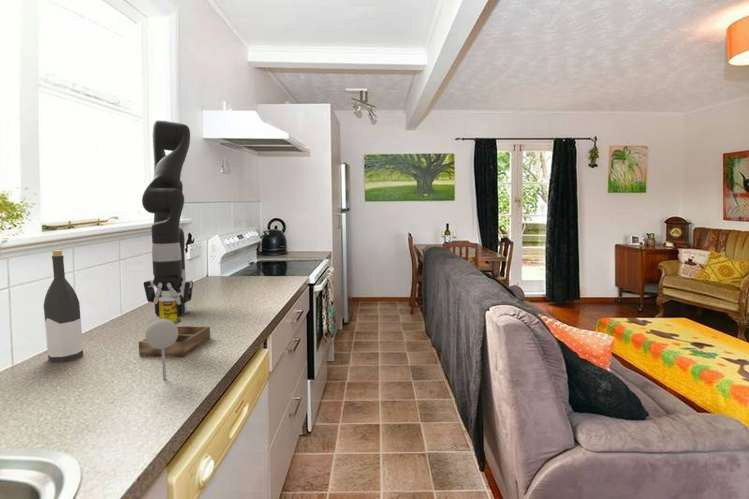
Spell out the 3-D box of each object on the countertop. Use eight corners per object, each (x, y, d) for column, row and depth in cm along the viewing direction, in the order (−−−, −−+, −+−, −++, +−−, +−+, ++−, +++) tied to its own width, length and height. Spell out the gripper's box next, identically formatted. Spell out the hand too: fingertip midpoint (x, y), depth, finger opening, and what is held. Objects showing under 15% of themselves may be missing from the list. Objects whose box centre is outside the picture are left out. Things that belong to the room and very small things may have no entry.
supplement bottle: (161, 328, 121) (159, 292, 120) (158, 323, 125) (156, 289, 124) (182, 325, 124) (181, 290, 123) (179, 320, 128) (177, 287, 127)
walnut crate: (139, 355, 121) (138, 341, 120) (171, 337, 137) (170, 325, 136) (183, 357, 120) (182, 343, 119) (210, 338, 135) (209, 326, 135)
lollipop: (155, 374, 108) (152, 315, 106) (185, 373, 108) (182, 315, 107) (143, 386, 101) (139, 323, 99) (174, 385, 101) (170, 323, 100)
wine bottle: (90, 354, 122) (82, 249, 119) (61, 364, 114) (52, 252, 111) (70, 351, 125) (61, 248, 121) (40, 360, 117) (30, 251, 114)
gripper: (197, 257, 126) (200, 313, 128) (151, 256, 127) (154, 312, 129) (184, 260, 118) (187, 320, 120) (134, 260, 119) (138, 319, 121)
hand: (170, 316), depth 124 cm, fingers closed on supplement bottle, 5 cm apart
